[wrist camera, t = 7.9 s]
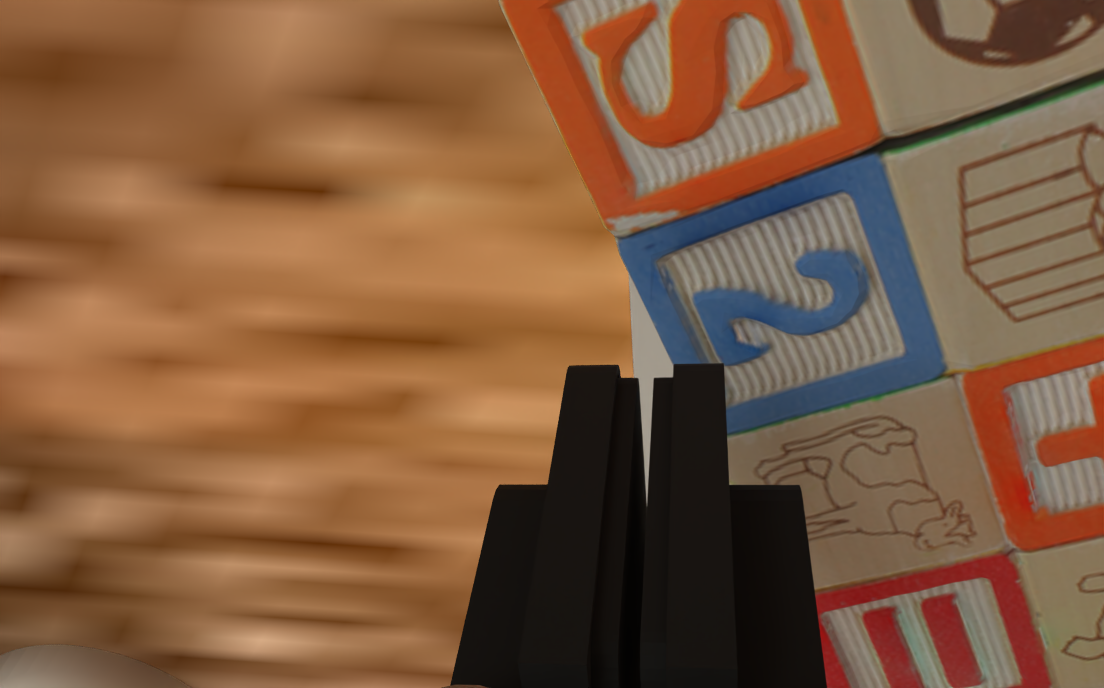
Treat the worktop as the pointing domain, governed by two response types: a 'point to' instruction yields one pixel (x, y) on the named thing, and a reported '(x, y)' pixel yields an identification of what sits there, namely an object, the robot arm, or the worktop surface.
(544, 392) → the worktop surface
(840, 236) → the stack of blocks
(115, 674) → the cream dome knob
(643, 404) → the silicone mat
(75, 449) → the worktop surface
